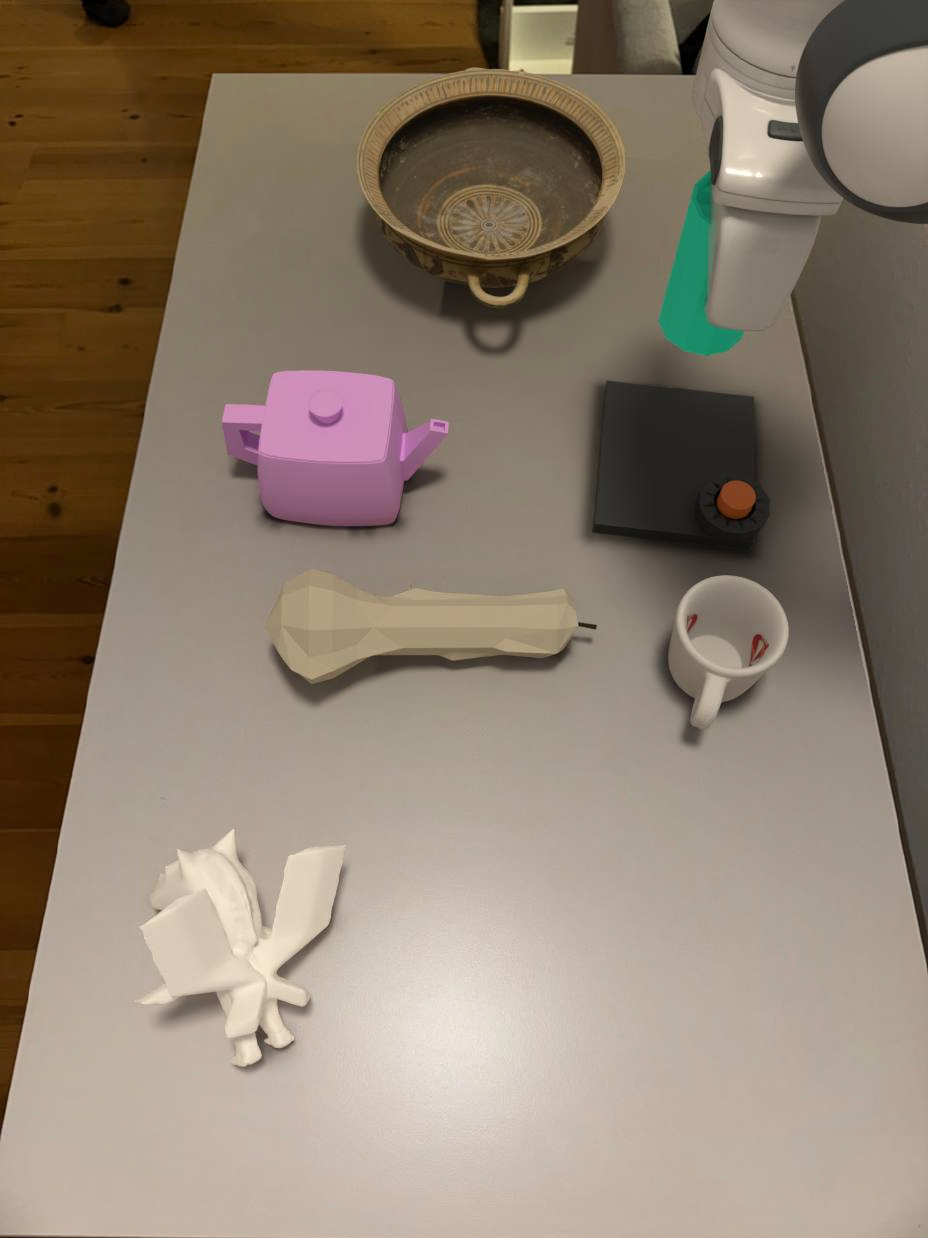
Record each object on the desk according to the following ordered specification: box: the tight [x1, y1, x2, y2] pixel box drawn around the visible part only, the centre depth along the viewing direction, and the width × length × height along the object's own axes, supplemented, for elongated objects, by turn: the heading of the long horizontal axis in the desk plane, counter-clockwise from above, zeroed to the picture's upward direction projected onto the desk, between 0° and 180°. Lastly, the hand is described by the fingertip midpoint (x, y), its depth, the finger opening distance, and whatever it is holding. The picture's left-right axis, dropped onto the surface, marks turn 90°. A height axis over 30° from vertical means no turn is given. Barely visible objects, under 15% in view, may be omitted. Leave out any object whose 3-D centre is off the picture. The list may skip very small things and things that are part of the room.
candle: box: [657, 169, 745, 357], centre depth 65 cm, size 6×6×12 cm
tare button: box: [717, 481, 756, 519], centre depth 83 cm, size 3×3×2 cm
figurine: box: [133, 828, 347, 1068], centre depth 66 cm, size 15×12×14 cm
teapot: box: [221, 369, 450, 527], centre depth 83 cm, size 18×10×10 cm, turn 87°
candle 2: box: [264, 568, 598, 685], centre depth 77 cm, size 9×8×25 cm
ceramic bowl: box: [355, 67, 627, 309], centre depth 95 cm, size 30×24×10 cm
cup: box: [667, 574, 790, 730], centre depth 75 cm, size 11×8×8 cm
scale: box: [592, 380, 771, 551], centre depth 87 cm, size 14×15×3 cm
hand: (718, 270), depth 67 cm, fingers closed on candle, 5 cm apart
